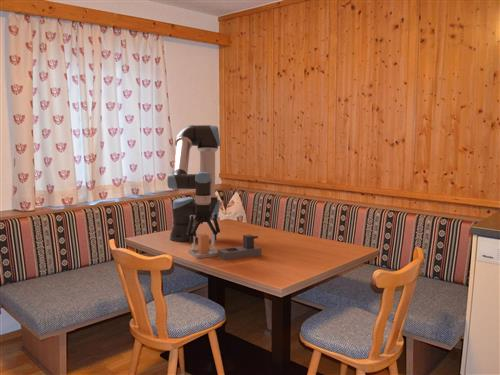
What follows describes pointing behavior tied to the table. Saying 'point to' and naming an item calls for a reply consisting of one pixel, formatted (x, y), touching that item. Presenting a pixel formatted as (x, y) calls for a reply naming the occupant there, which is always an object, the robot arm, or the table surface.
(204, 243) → the plug
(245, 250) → the strip
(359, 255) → the table surface
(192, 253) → the tray
